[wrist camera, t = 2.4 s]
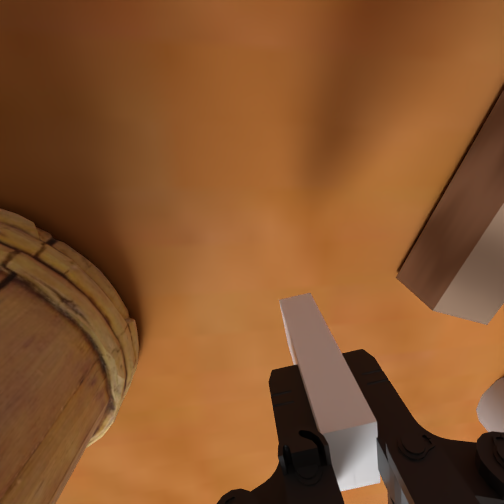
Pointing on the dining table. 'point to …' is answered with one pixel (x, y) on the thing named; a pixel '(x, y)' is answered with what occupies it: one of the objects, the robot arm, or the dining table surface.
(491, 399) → the cup
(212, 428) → the dining table surface
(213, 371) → the dining table surface
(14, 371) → the tankard
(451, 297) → the folding leg
